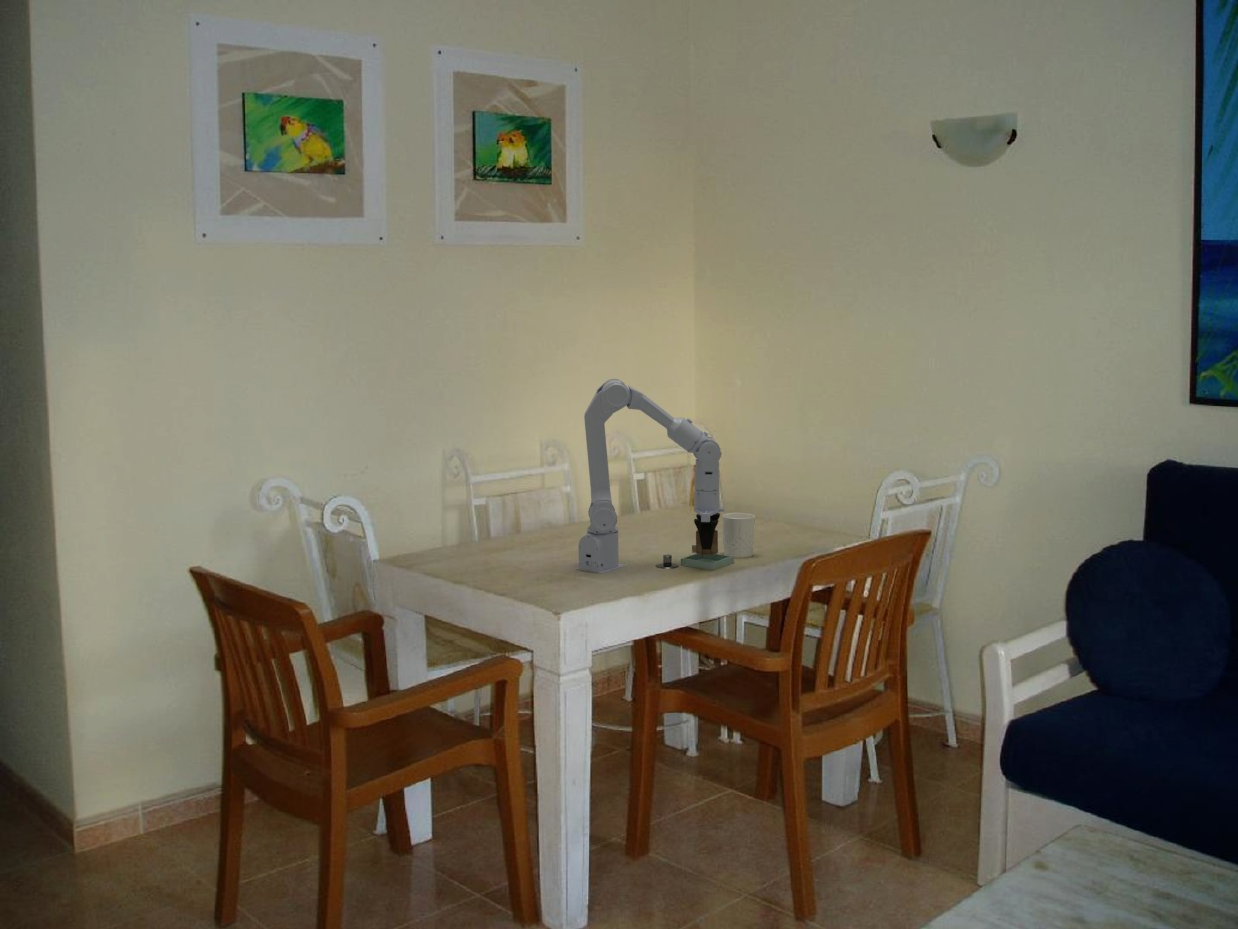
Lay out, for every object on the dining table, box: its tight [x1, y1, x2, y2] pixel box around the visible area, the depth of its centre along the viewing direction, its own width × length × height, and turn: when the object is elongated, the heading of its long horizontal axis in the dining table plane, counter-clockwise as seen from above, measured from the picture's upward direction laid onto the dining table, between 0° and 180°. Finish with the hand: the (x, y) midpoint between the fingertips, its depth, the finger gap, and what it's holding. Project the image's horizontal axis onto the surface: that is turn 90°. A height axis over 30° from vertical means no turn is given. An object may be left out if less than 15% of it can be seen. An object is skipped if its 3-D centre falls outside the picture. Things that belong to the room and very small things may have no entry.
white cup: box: [721, 512, 756, 559], centre depth 311 cm, size 8×8×10 cm
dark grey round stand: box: [655, 554, 680, 570], centre depth 300 cm, size 6×6×3 cm
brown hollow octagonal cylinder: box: [691, 529, 719, 555], centre depth 301 cm, size 6×5×5 cm
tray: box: [680, 553, 735, 571], centre depth 301 cm, size 9×9×2 cm
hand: (707, 546), depth 301 cm, fingers closed on brown hollow octagonal cylinder, 5 cm apart
